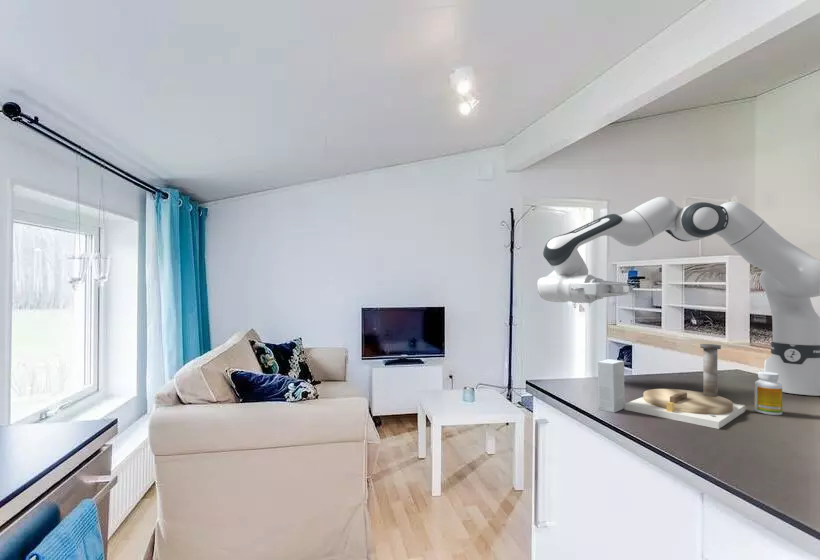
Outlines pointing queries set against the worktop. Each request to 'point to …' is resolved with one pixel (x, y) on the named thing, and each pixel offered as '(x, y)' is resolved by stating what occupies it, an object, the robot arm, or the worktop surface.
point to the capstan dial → (692, 399)
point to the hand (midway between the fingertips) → (630, 289)
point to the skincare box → (611, 385)
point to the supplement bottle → (768, 394)
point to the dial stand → (685, 413)
